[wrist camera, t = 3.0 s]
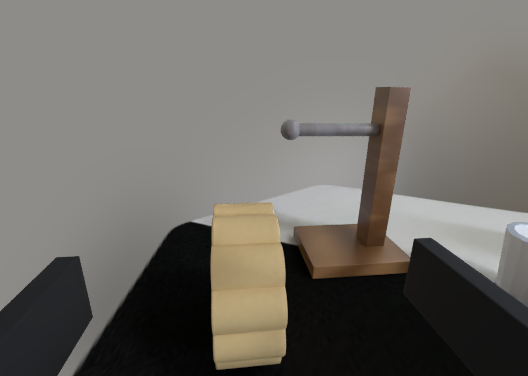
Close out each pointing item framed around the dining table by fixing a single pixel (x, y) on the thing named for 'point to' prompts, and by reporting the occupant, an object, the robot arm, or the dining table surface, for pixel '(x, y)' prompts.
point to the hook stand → (372, 199)
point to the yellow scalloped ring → (247, 286)
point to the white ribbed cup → (515, 262)
